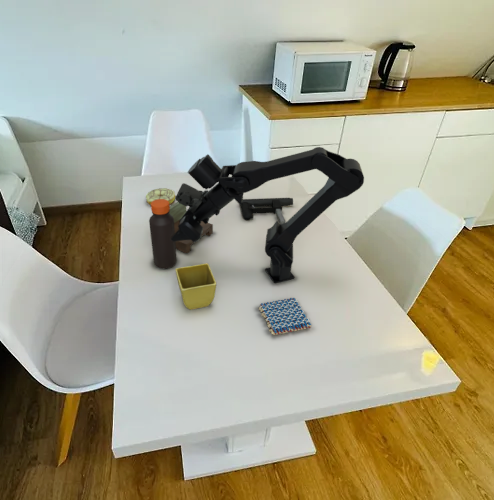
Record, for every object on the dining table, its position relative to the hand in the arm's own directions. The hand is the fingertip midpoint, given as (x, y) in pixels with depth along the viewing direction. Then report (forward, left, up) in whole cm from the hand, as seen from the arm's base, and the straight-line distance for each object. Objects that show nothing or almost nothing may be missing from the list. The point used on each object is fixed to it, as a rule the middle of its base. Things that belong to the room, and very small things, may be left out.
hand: (176, 231), depth 108 cm
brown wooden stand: (+13, -6, -12) cm, 18 cm away
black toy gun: (+18, -38, -12) cm, 44 cm away
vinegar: (+2, +3, -12) cm, 12 cm away
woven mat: (-31, -19, -12) cm, 38 cm away
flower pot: (-18, 0, -12) cm, 21 cm away
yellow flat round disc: (+39, -4, -12) cm, 41 cm away
